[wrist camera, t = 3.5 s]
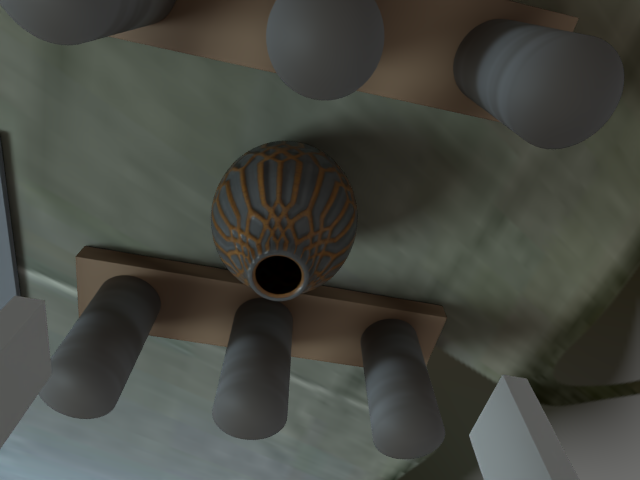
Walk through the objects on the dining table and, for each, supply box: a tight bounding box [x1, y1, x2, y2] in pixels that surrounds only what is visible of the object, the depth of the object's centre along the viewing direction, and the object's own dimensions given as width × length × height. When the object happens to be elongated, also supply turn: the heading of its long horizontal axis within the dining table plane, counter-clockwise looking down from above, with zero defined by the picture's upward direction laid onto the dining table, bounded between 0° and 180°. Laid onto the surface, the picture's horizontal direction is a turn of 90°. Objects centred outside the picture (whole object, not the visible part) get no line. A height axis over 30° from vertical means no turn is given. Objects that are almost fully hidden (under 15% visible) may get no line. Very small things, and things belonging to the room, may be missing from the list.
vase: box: [211, 141, 358, 301], centre depth 21 cm, size 7×7×9 cm
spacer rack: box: [0, 0, 624, 459], centre depth 22 cm, size 22×22×8 cm
